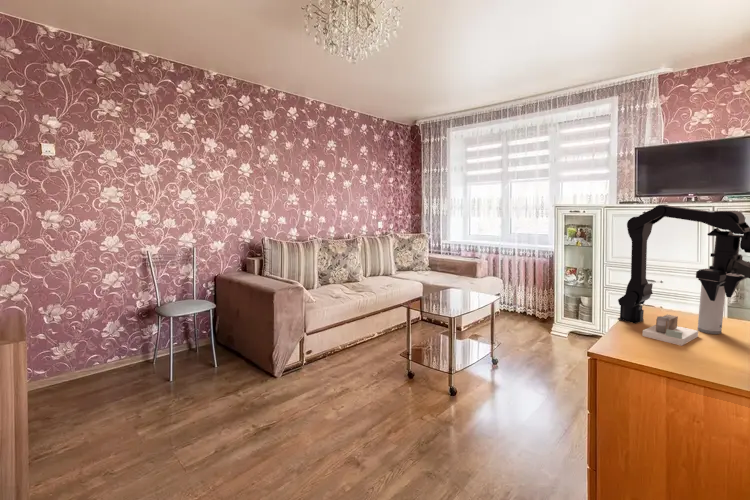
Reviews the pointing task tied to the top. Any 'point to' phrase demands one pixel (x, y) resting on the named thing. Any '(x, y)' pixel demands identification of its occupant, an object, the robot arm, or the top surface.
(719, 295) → the travel mug
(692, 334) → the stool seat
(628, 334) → the top surface
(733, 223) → the robot arm
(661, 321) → the grey knobbed lever
